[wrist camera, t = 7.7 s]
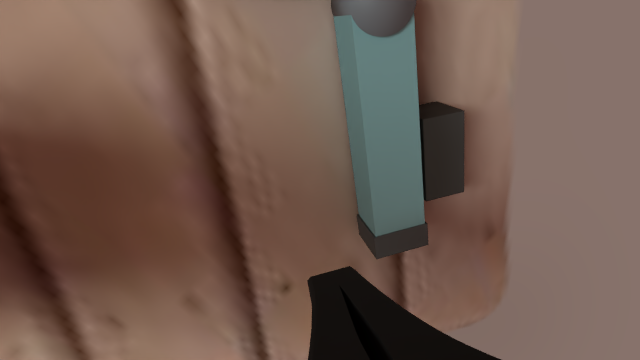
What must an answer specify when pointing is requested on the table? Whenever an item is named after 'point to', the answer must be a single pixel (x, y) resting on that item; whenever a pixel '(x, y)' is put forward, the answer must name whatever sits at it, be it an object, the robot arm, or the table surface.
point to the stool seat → (441, 150)
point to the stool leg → (383, 120)
